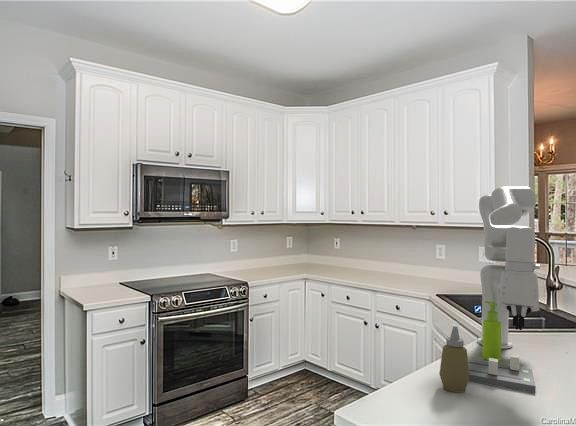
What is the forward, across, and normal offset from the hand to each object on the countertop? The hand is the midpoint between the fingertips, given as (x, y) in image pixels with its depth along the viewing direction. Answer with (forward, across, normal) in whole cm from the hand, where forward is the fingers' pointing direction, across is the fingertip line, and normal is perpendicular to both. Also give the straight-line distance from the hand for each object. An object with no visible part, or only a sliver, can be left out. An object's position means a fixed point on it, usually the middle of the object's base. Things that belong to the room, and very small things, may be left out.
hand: (518, 328), depth 126 cm
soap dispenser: (+17, +8, -25) cm, 31 cm away
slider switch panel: (+17, +7, -5) cm, 19 cm away
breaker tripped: (+15, +7, -1) cm, 16 cm away
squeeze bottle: (+17, +17, +12) cm, 27 cm away
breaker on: (+14, +1, -9) cm, 17 cm away
